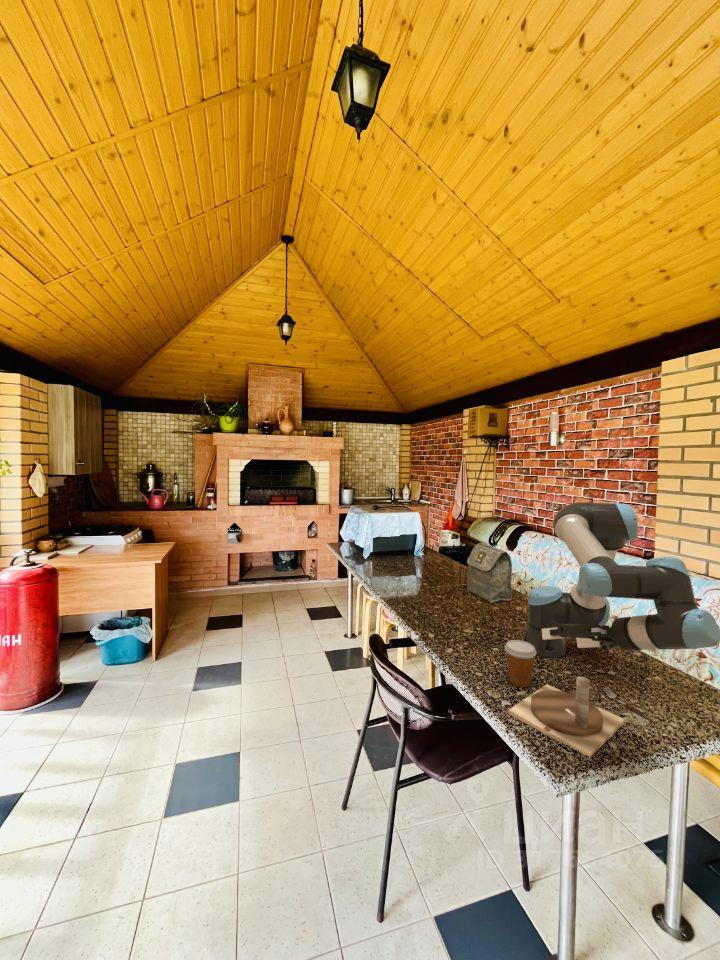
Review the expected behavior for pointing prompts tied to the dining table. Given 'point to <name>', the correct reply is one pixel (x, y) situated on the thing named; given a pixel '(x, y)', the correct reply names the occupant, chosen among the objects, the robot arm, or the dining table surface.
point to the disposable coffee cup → (520, 662)
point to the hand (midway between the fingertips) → (560, 638)
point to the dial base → (577, 742)
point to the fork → (627, 705)
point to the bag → (489, 573)
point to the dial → (568, 710)
